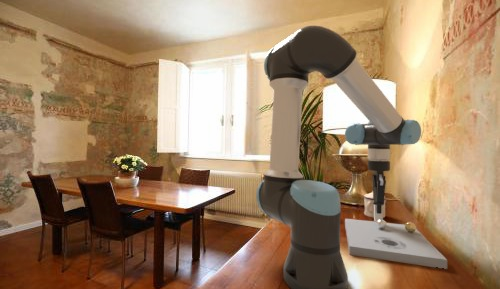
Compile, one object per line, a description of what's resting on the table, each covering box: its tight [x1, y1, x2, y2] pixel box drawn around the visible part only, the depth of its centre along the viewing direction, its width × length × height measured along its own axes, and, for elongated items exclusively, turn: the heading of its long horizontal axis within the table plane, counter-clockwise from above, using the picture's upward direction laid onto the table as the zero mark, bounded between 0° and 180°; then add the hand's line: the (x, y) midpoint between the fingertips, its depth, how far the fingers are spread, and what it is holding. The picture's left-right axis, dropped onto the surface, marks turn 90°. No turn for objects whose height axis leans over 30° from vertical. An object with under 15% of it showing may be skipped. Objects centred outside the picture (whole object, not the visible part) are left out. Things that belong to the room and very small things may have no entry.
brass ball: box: [404, 221, 417, 232], centre depth 81 cm, size 3×3×3 cm
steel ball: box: [375, 218, 388, 229], centre depth 84 cm, size 3×3×3 cm
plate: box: [344, 218, 448, 270], centre depth 79 cm, size 28×24×2 cm
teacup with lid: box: [363, 190, 387, 219], centre depth 108 cm, size 12×9×12 cm
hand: (378, 221), depth 89 cm, fingers closed
